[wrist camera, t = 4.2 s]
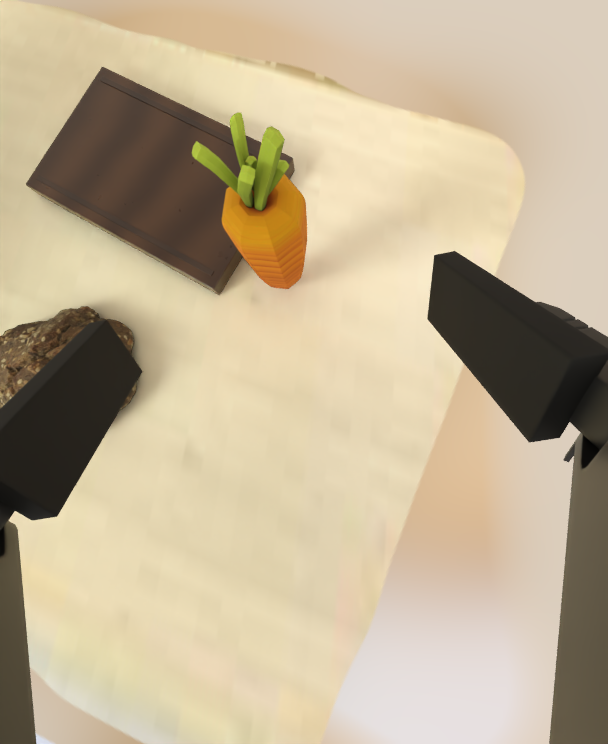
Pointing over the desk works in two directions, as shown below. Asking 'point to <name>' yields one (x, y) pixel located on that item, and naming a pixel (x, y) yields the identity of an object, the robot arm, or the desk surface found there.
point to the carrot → (262, 207)
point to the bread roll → (46, 347)
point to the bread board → (146, 176)
